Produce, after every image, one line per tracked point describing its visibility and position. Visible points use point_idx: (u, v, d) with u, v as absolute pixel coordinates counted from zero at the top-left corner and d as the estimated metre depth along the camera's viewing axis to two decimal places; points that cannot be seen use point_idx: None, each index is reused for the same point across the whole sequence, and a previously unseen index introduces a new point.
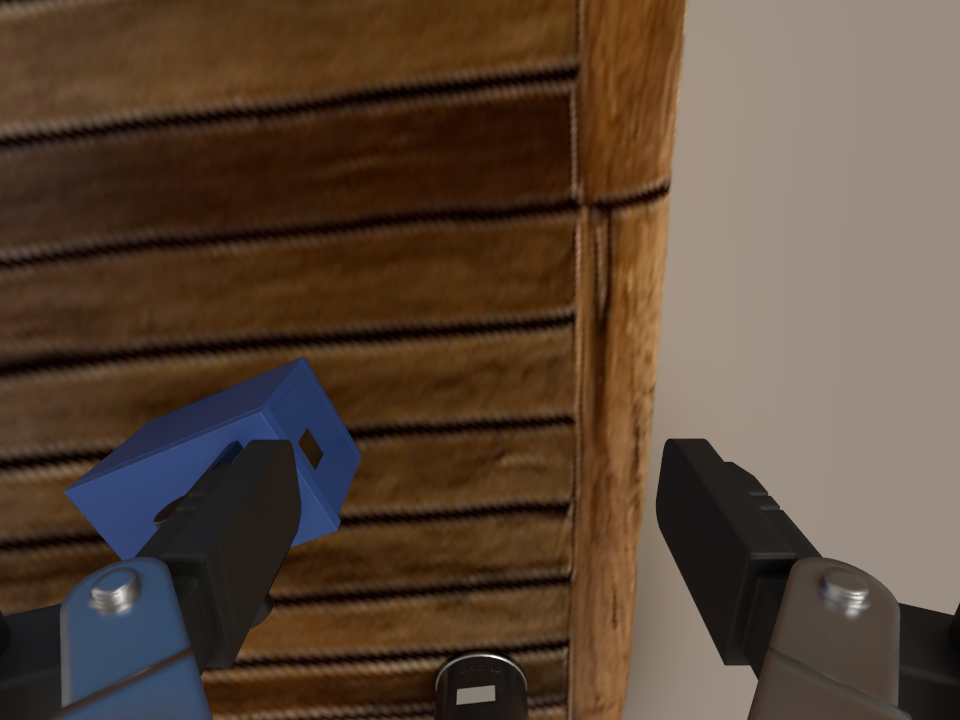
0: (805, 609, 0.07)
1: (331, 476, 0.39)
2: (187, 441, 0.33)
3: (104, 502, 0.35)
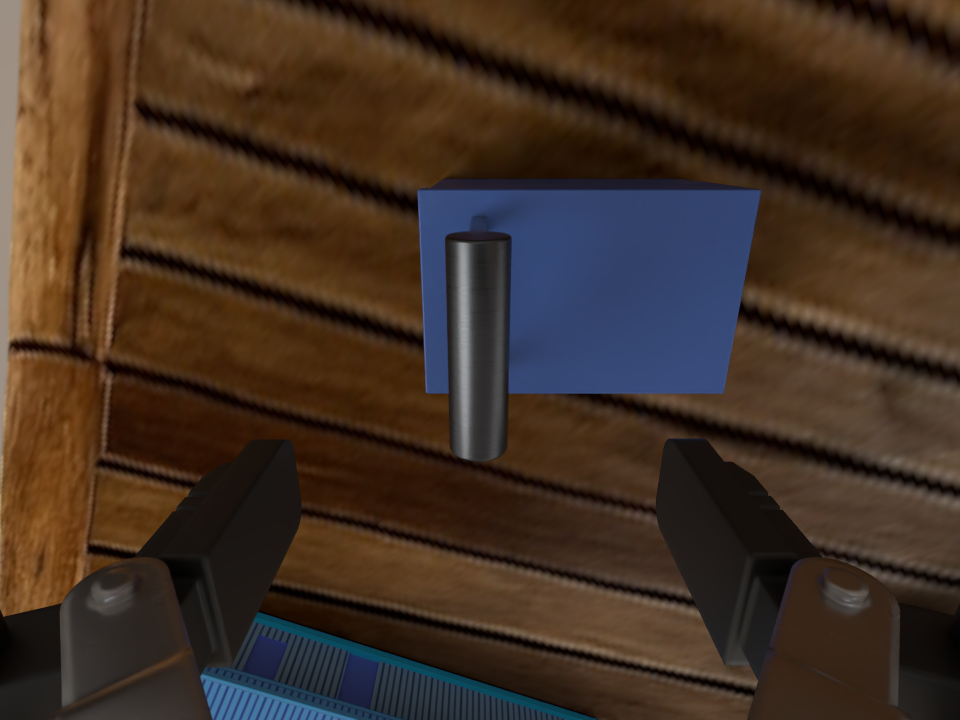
0: (805, 609, 0.07)
1: None
2: (533, 392, 0.27)
3: (689, 362, 0.26)
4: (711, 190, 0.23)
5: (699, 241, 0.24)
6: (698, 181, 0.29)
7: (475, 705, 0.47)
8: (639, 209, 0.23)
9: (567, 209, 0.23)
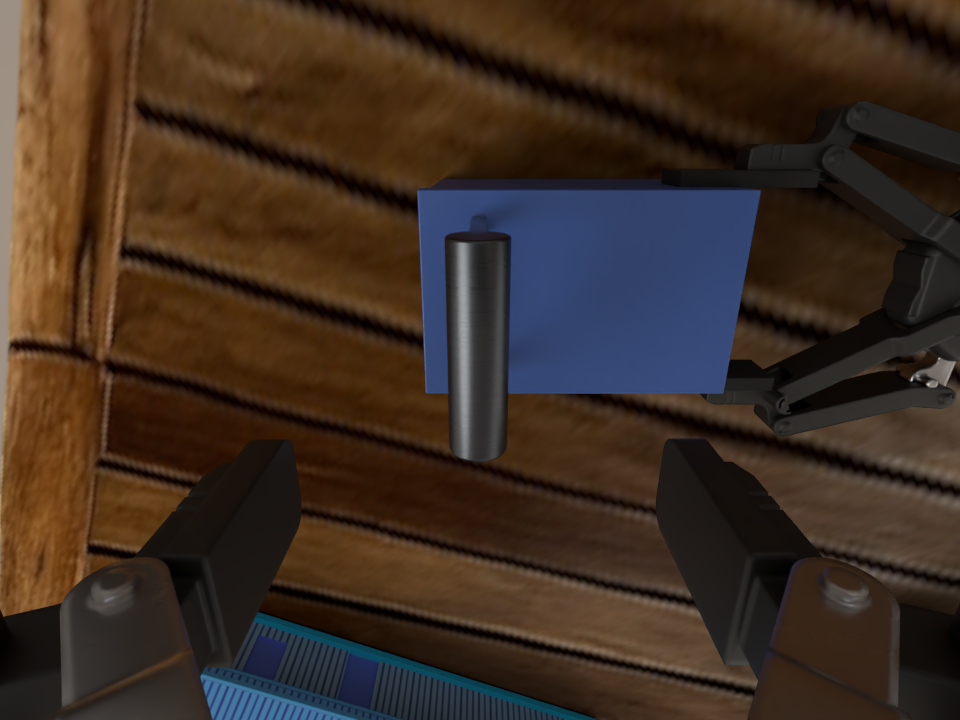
0: (805, 609, 0.07)
1: None
2: (533, 392, 0.27)
3: (689, 362, 0.26)
4: (711, 190, 0.23)
5: (699, 241, 0.24)
6: None
7: (475, 705, 0.47)
8: (639, 209, 0.23)
9: (567, 209, 0.23)
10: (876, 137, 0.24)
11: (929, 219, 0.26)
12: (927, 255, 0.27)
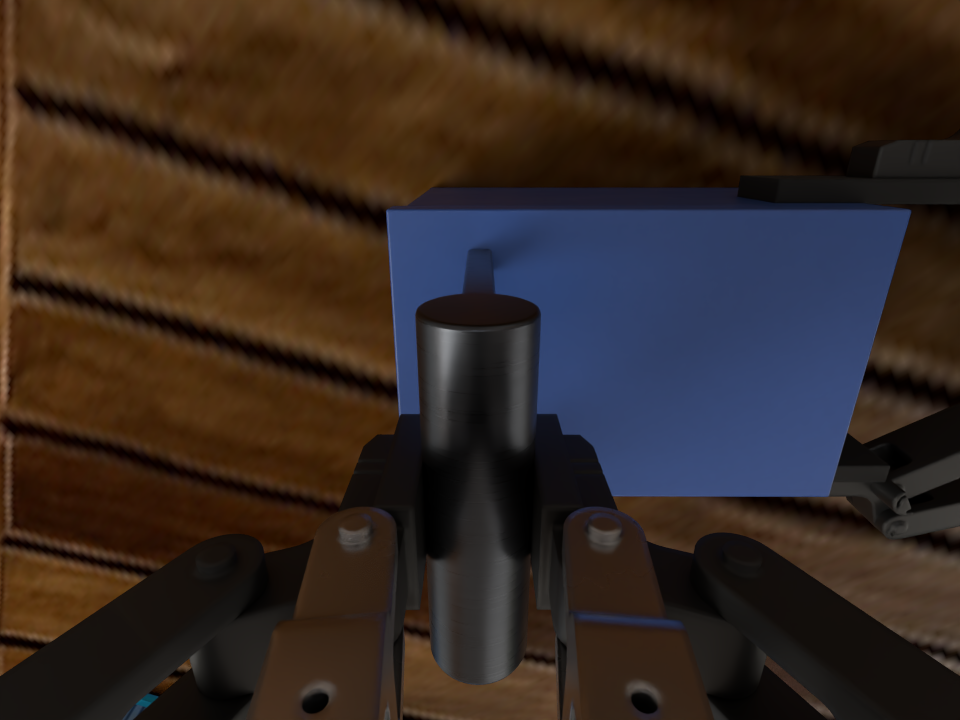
0: (584, 560, 0.07)
1: None
2: None
3: (783, 454, 0.18)
4: (835, 210, 0.15)
5: (811, 286, 0.16)
6: None
7: None
8: (723, 238, 0.15)
9: (614, 239, 0.15)
10: None
11: None
12: None
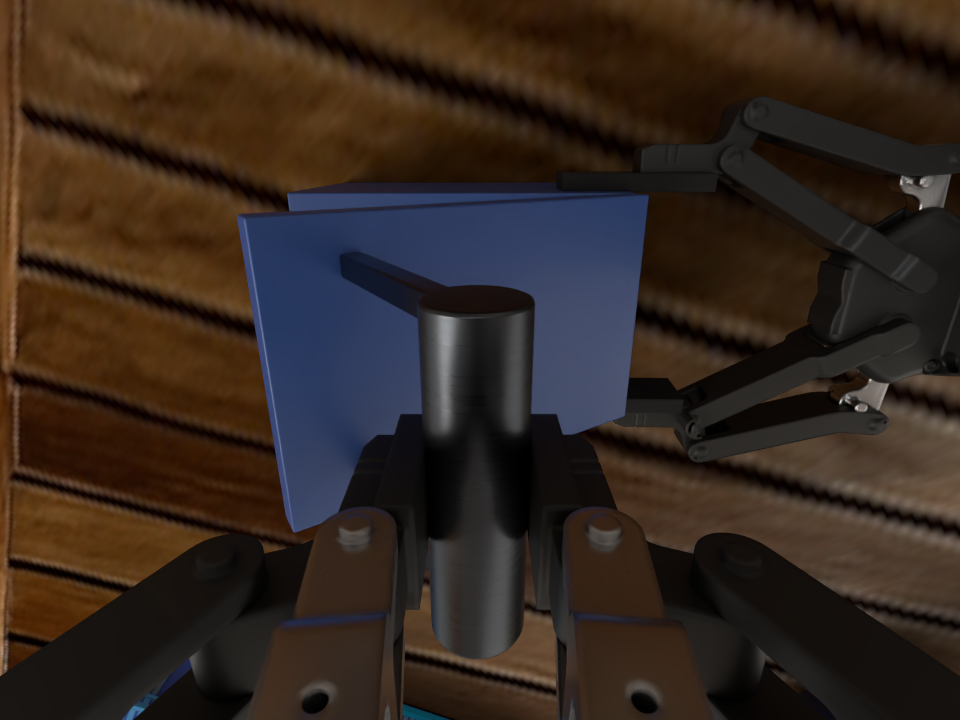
0: (584, 561, 0.07)
1: None
2: None
3: (596, 392, 0.23)
4: (609, 197, 0.20)
5: (601, 257, 0.20)
6: None
7: None
8: (544, 224, 0.19)
9: (467, 231, 0.17)
10: (779, 136, 0.22)
11: (845, 227, 0.23)
12: (847, 267, 0.24)
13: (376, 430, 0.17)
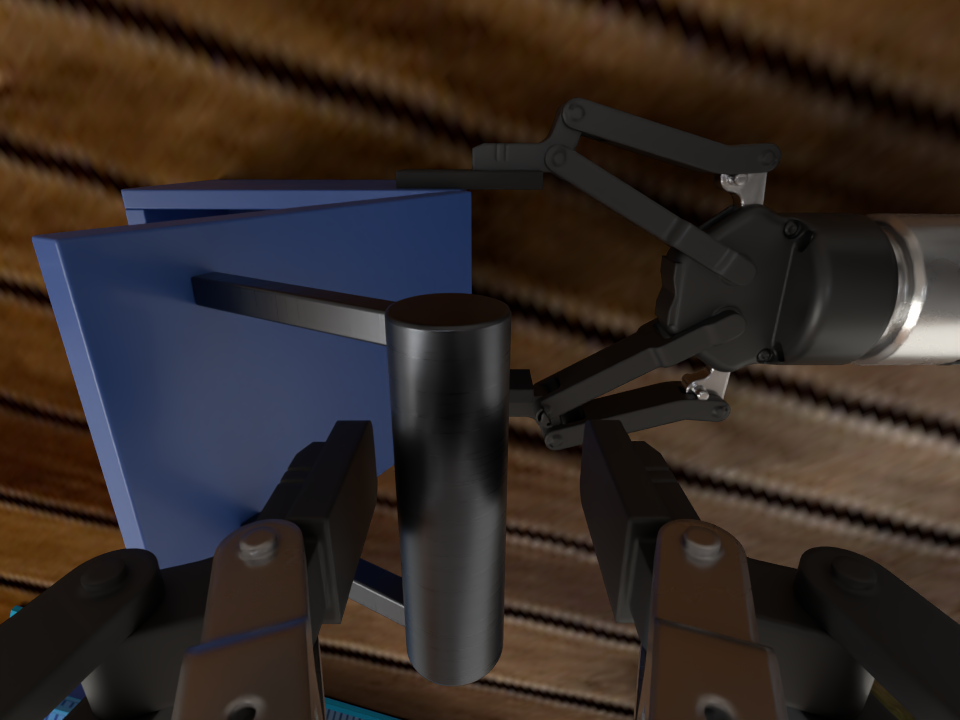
0: (675, 571, 0.07)
1: None
2: None
3: None
4: (441, 195, 0.20)
5: (441, 254, 0.21)
6: None
7: None
8: (393, 226, 0.18)
9: (324, 238, 0.15)
10: (598, 136, 0.23)
11: (669, 223, 0.24)
12: (677, 261, 0.25)
13: (253, 480, 0.15)
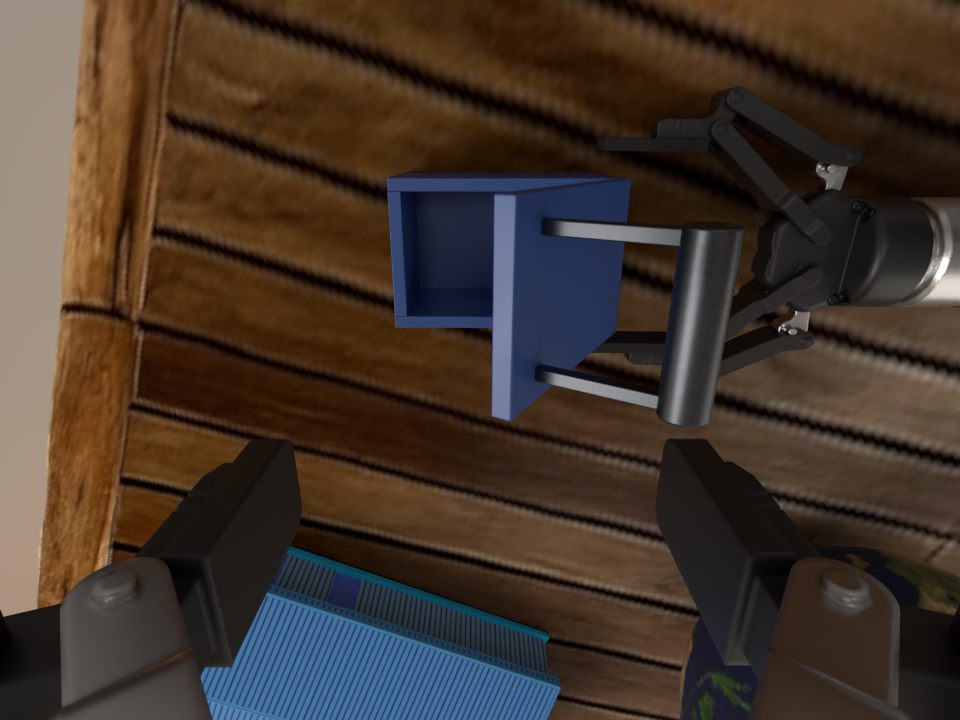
0: (805, 609, 0.07)
1: None
2: None
3: (608, 314, 0.34)
4: (619, 181, 0.30)
5: (615, 220, 0.31)
6: (599, 174, 0.38)
7: (443, 616, 0.55)
8: (601, 199, 0.28)
9: (579, 203, 0.26)
10: (746, 117, 0.33)
11: (781, 192, 0.34)
12: (775, 229, 0.36)
13: (542, 343, 0.25)
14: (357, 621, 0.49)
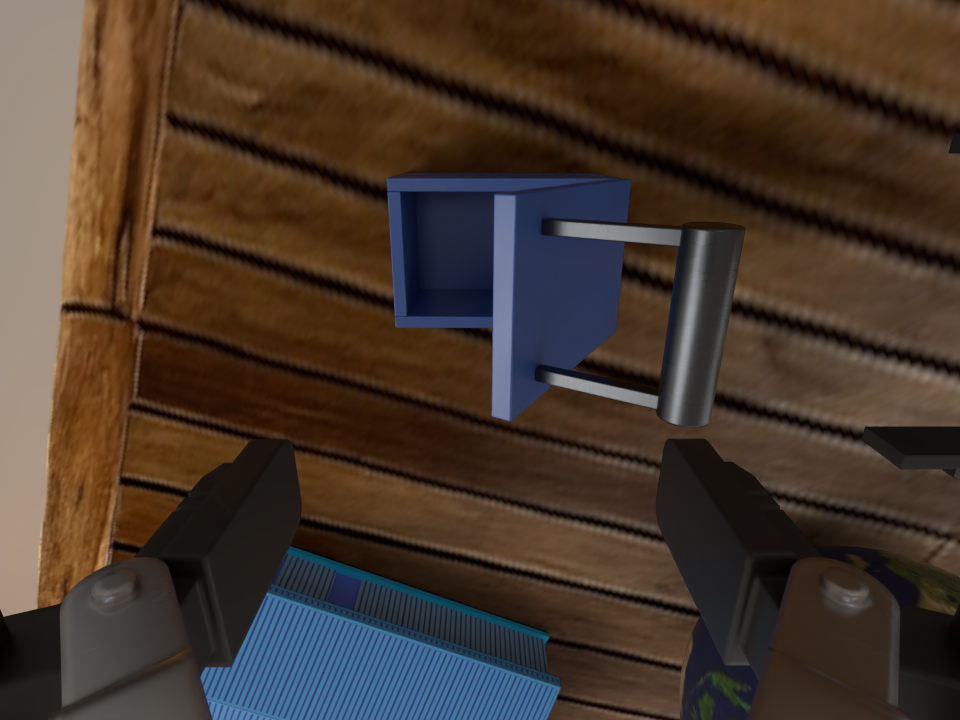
0: (805, 609, 0.07)
1: None
2: None
3: (608, 314, 0.34)
4: (619, 181, 0.30)
5: (615, 220, 0.31)
6: (599, 174, 0.38)
7: (443, 616, 0.55)
8: (601, 199, 0.28)
9: (579, 203, 0.26)
10: None
11: None
12: None
13: (542, 343, 0.25)
14: (357, 621, 0.49)
